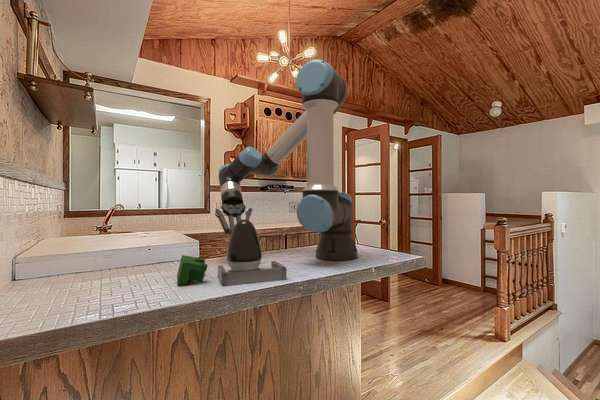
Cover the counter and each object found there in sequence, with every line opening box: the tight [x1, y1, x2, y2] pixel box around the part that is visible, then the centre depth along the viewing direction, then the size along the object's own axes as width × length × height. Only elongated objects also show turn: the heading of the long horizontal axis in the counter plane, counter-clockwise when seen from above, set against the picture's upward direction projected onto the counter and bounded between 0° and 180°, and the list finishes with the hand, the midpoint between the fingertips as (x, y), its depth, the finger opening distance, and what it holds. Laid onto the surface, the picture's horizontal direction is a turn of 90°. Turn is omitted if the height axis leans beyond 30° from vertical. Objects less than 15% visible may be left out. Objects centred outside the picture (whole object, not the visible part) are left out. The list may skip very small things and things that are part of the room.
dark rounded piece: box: [226, 218, 263, 272], centre depth 89 cm, size 10×10×15 cm
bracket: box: [217, 260, 287, 287], centre depth 80 cm, size 16×10×3 cm, turn 111°
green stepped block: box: [176, 255, 209, 286], centre depth 79 cm, size 12×6×9 cm, turn 17°
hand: (239, 249), depth 94 cm, fingers closed
